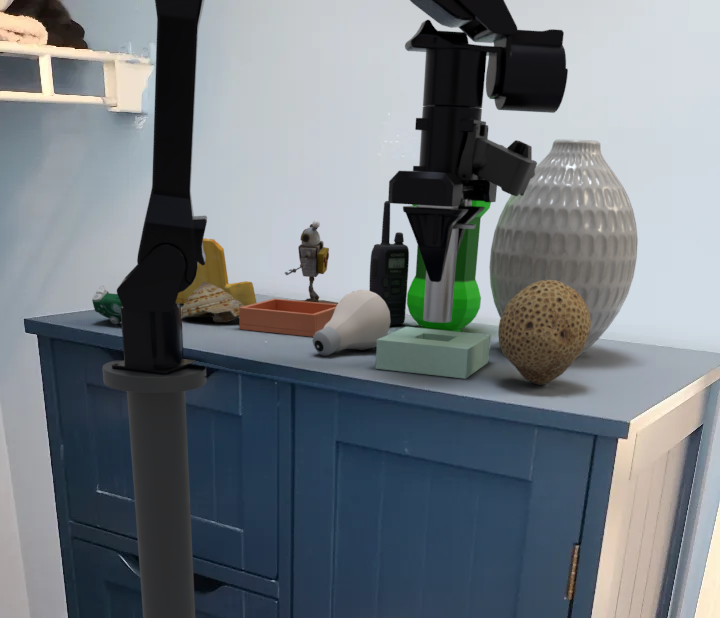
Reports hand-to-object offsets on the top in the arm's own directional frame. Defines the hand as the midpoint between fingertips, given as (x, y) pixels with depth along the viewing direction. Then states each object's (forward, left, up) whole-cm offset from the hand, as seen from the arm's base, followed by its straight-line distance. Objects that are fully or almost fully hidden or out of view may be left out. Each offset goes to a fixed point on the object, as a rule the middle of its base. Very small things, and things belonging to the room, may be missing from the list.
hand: (439, 280), depth 98 cm
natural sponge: (-4, -12, -9) cm, 15 cm away
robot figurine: (+29, +26, -9) cm, 40 cm away
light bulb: (+3, +11, -9) cm, 14 cm away
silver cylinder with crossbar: (0, 0, -4) cm, 4 cm away
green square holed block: (0, 0, -9) cm, 9 cm away
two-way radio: (+24, +14, -9) cm, 29 cm away
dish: (+15, +23, -9) cm, 29 cm away
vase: (+15, -10, -9) cm, 20 cm away
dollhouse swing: (+26, +41, -9) cm, 49 cm away
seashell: (+14, +34, -9) cm, 38 cm away
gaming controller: (+5, +41, -9) cm, 42 cm away
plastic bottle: (+24, +6, -9) cm, 26 cm away
